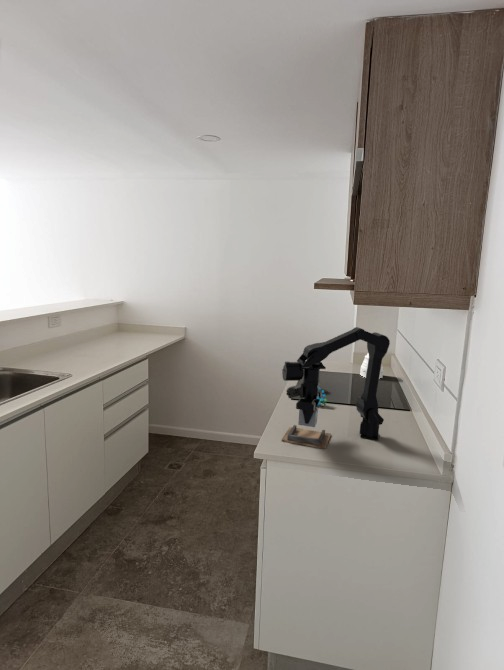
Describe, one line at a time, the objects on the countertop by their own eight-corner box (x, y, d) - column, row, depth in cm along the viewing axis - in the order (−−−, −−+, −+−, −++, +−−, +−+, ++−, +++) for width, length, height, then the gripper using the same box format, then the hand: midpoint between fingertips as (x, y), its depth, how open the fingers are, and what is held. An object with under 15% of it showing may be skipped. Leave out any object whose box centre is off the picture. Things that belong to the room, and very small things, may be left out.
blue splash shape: (299, 400, 194) (310, 383, 198) (302, 406, 199) (313, 389, 202) (319, 409, 188) (331, 391, 191) (322, 415, 192) (333, 398, 196)
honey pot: (383, 380, 241) (386, 349, 238) (360, 377, 244) (362, 347, 241) (381, 374, 254) (384, 345, 250) (359, 372, 256) (362, 343, 253)
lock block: (316, 422, 157) (318, 408, 156) (314, 427, 153) (315, 412, 152) (301, 420, 159) (302, 406, 158) (298, 424, 155) (299, 410, 154)
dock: (330, 435, 161) (331, 429, 160) (325, 448, 148) (326, 442, 148) (289, 428, 165) (290, 422, 165) (281, 441, 153) (281, 434, 153)
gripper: (294, 371, 164) (292, 409, 167) (283, 384, 147) (280, 426, 150) (323, 375, 161) (320, 414, 164) (314, 388, 143) (311, 431, 146)
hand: (308, 421), depth 156 cm, fingers closed on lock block, 5 cm apart
